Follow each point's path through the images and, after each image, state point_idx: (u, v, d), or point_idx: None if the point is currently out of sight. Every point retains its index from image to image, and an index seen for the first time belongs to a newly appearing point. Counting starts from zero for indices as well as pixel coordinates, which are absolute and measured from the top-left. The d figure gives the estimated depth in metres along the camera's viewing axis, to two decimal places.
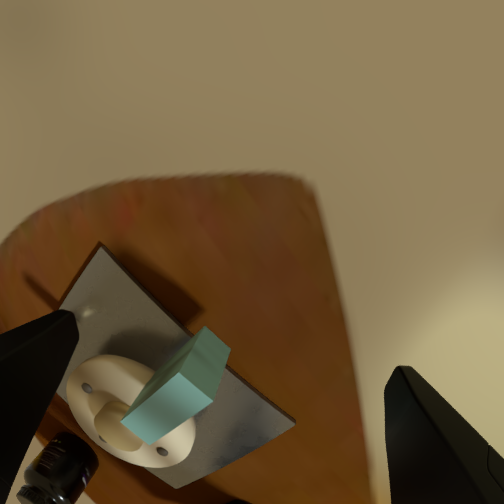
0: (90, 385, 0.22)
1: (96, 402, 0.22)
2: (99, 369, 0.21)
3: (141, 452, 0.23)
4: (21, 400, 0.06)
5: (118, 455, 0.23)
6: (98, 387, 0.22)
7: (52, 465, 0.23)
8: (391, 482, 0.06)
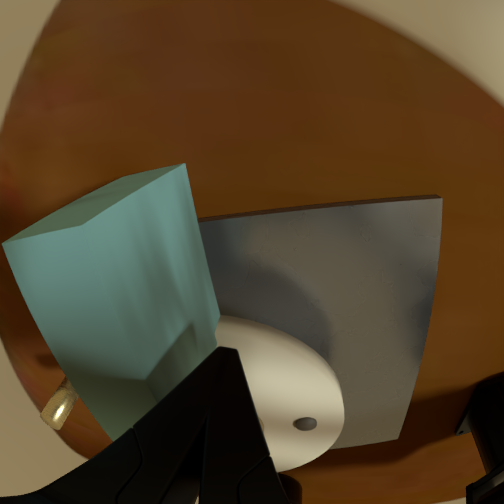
0: None
1: None
2: None
3: (288, 445, 0.14)
4: None
5: None
6: None
7: None
8: None
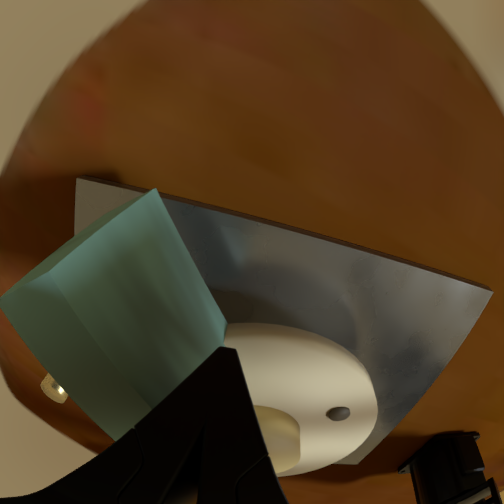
0: None
1: None
2: None
3: (328, 438, 0.14)
4: None
5: (323, 463, 0.15)
6: None
7: None
8: None
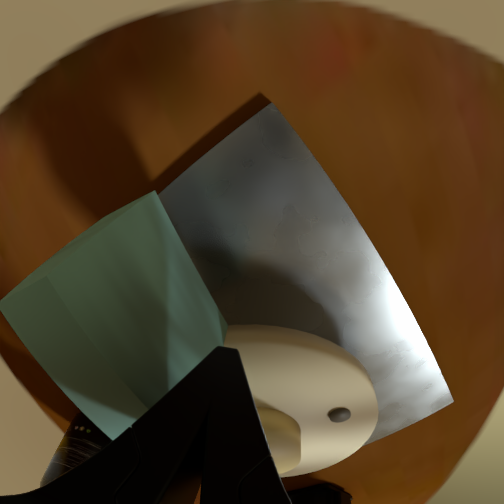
0: None
1: None
2: None
3: (329, 439, 0.14)
4: None
5: (324, 464, 0.15)
6: None
7: None
8: None
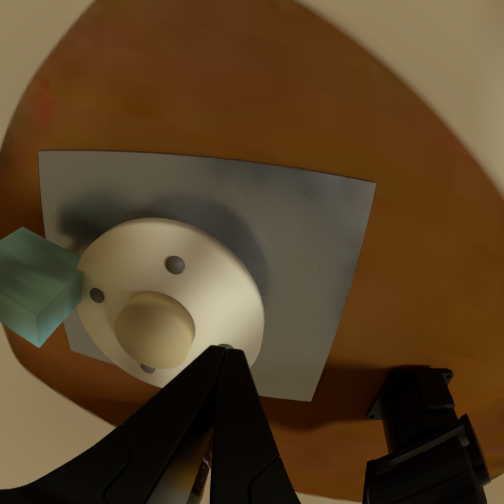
0: None
1: None
2: (110, 351, 0.19)
3: (208, 295, 0.17)
4: None
5: (254, 329, 0.17)
6: None
7: None
8: None
